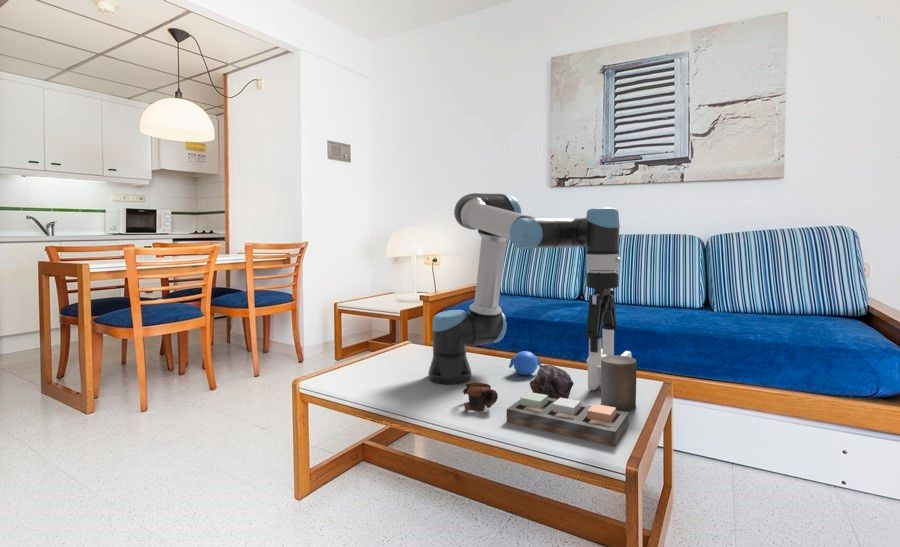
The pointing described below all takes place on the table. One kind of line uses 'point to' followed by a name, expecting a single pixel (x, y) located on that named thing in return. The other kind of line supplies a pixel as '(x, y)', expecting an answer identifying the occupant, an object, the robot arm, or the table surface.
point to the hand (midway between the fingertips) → (601, 359)
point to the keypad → (570, 422)
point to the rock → (552, 382)
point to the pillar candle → (618, 382)
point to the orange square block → (601, 413)
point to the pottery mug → (479, 396)
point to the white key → (566, 406)
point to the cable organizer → (598, 372)
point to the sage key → (534, 400)
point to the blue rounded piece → (525, 363)
